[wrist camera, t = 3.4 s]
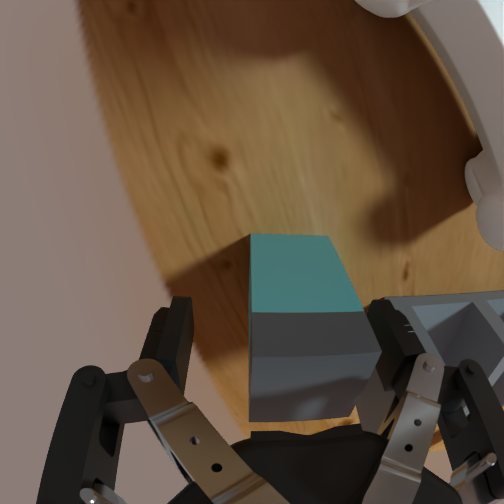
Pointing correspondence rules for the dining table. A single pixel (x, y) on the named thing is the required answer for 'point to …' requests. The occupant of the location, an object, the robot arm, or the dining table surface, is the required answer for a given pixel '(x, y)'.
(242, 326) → the dining table surface
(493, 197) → the bone shaped toy
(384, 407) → the grey piece
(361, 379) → the teal plug
